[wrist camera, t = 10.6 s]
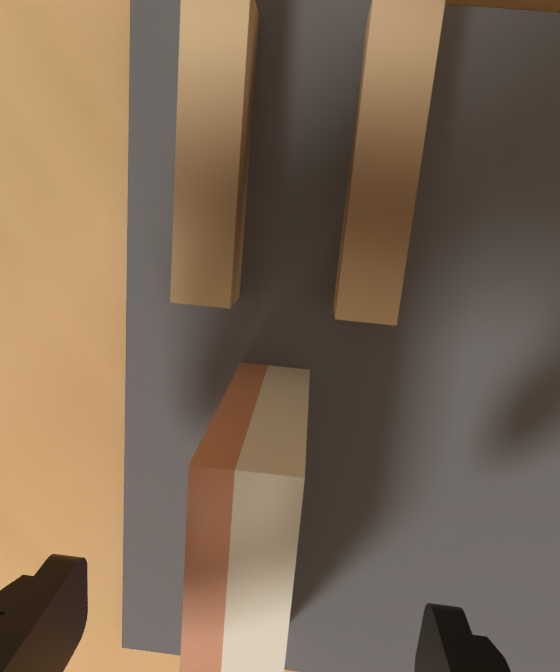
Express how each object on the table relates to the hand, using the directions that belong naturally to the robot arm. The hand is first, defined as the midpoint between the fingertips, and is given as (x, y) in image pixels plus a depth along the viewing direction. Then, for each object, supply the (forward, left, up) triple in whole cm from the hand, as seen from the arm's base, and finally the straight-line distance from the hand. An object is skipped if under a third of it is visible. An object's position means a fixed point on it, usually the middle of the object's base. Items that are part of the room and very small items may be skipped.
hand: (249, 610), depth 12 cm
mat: (-4, +4, -5) cm, 7 cm away
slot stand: (-10, 0, -4) cm, 11 cm away
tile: (-5, 0, -1) cm, 5 cm away
